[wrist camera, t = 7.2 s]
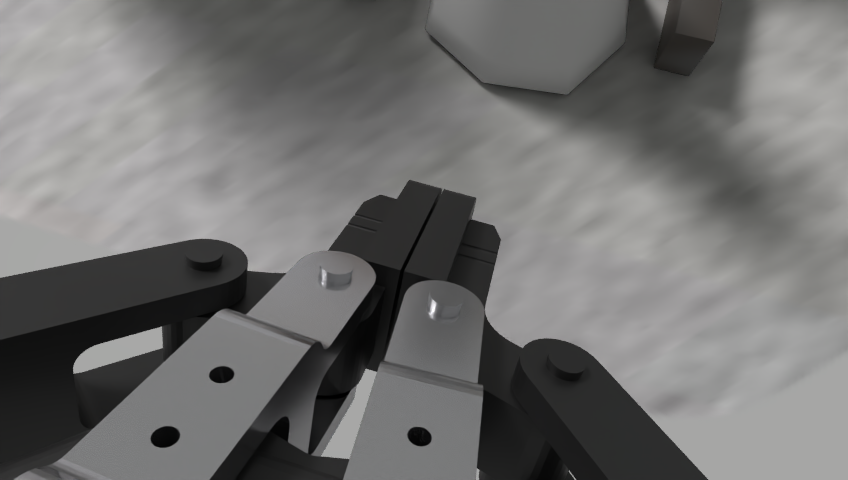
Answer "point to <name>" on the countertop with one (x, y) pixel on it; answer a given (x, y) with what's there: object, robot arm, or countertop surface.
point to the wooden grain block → (687, 34)
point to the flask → (530, 38)
